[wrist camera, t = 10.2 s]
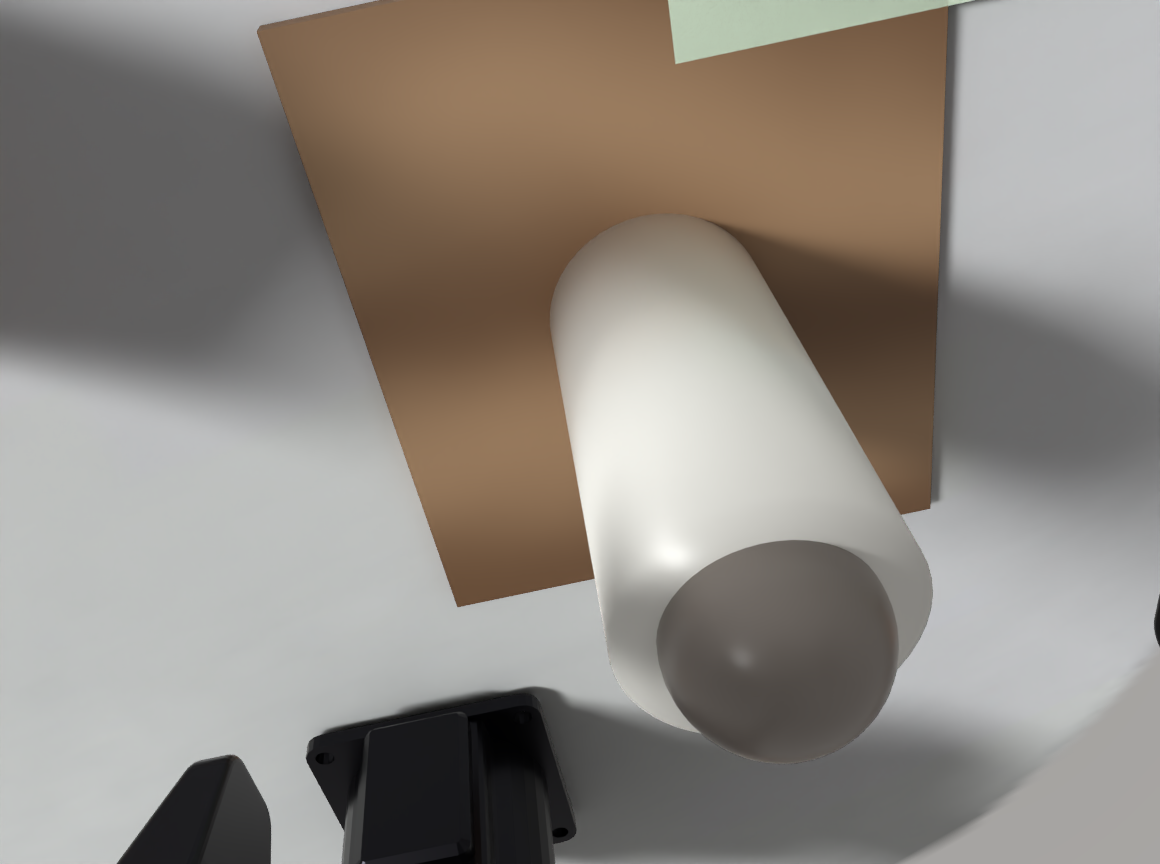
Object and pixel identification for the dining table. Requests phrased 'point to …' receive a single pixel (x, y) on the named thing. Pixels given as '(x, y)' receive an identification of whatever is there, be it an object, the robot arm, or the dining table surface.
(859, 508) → the bottle
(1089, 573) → the dining table surface
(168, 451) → the dining table surface
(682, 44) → the green mat
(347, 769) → the robot arm
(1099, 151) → the dining table surface
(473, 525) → the walnut mat
